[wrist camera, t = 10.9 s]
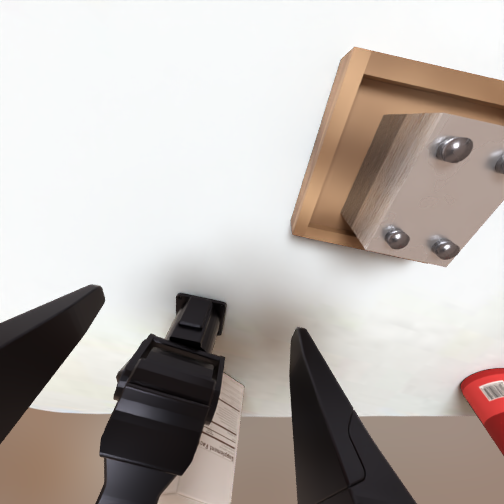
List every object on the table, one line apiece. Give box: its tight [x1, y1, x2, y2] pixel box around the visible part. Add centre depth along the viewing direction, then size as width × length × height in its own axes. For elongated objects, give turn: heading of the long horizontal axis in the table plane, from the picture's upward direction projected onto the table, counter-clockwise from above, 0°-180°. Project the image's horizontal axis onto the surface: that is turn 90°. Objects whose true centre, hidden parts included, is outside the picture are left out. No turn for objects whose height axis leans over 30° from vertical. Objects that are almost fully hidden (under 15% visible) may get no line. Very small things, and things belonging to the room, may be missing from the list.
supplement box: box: [157, 373, 244, 504], centre depth 33 cm, size 9×9×15 cm
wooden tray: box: [291, 47, 504, 264], centre depth 16 cm, size 12×12×3 cm
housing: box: [341, 113, 504, 267], centre depth 13 cm, size 7×5×7 cm
